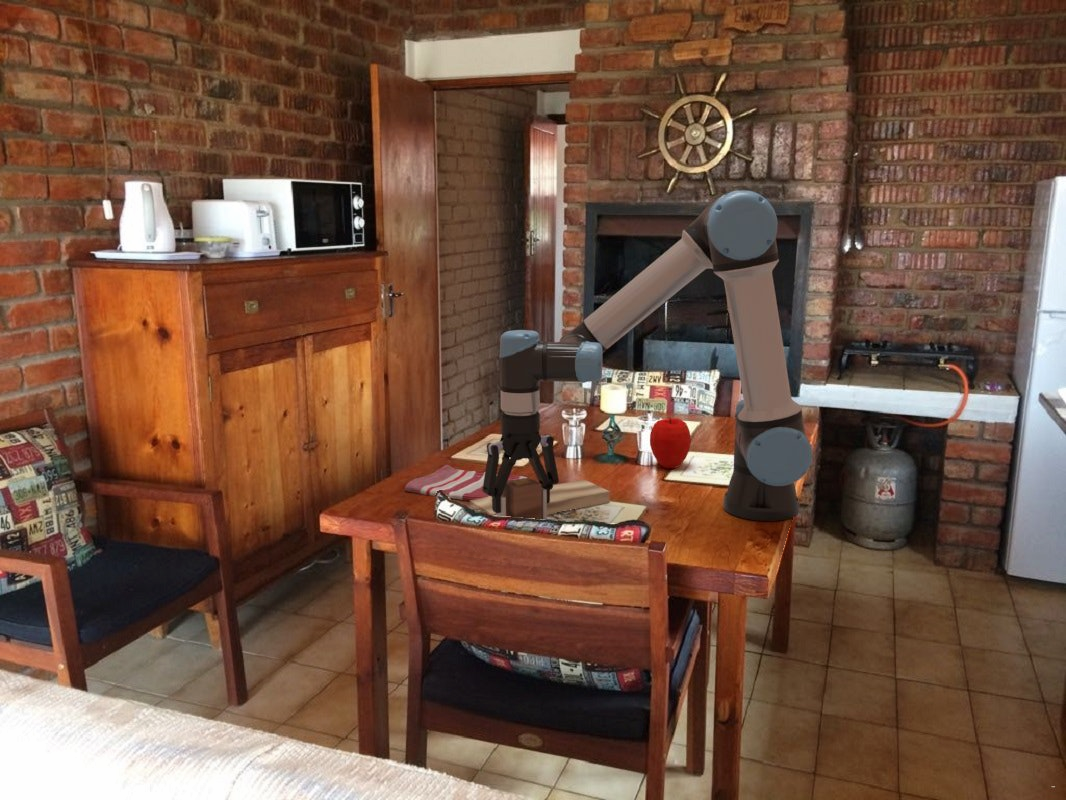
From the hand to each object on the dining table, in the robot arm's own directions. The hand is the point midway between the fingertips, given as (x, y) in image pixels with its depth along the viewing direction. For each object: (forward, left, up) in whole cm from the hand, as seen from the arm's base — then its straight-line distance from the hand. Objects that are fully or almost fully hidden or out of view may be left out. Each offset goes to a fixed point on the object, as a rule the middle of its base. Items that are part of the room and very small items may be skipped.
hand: (521, 523), depth 178 cm
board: (+8, -9, -1) cm, 12 cm away
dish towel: (+28, -2, -1) cm, 28 cm away
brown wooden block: (+4, 0, -1) cm, 4 cm away
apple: (+18, -51, -1) cm, 54 cm away
